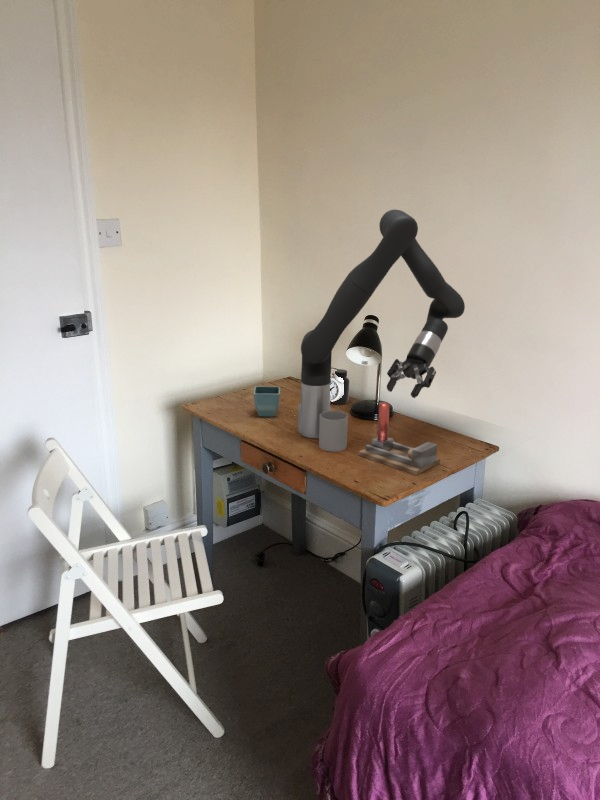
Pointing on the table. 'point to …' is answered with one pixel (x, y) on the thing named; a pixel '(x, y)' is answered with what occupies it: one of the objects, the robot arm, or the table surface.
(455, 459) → the table surface
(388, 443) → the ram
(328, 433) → the cup
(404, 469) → the machine vise
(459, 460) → the table surface
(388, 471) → the table surface
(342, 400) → the supplement bottle
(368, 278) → the robot arm
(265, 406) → the flower pot
